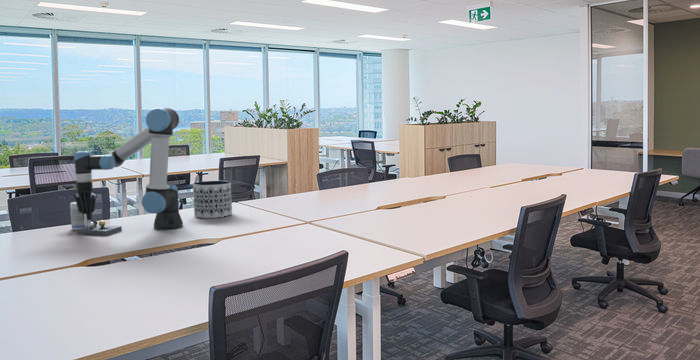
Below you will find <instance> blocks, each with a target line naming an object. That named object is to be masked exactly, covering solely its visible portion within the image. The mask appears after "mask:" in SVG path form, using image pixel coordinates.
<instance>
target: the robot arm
mask: <svg viewBox="0 0 700 360" xmlns="http://www.w3.org/2000/svg"><path fill="white" fill-rule="evenodd" d="M145 123H146V126H147V127H145V128H144V129H143V130H141V131H140V132H138V133H137V134H136V135H134V136H133V137H132V138H130V139H129V140H127V141H126V142H124V143H123V144H122V145H120V146H119V147H118V148H116V149H115V150H113V151H112V152H111V153H108V154H97V155H95V154H94V155H93V154H91V152H90V151H76V152H74V155H73V157H74V158H73V159H74V160H73V161H74V169H75V181H76V183H75V185H76V189H77V192H76V193H75V194H73V197H74V199H75V202H76V203H77V207H78V210H79V212H81V213H82V214H83V220H84V226H88V224H89V223H90V219H91V220H92V213H95V208H96V199H97V197H98V195H97V193H96V194H95V193H94V192H93V181H92V180H93V176H92V175H93V174H92V173H93V172H92V171H94V170H97V171H98V170H103V171H108V170H113V169H114V168H118V167H121V166H122V165H123V164H124V163H125V161H127V160H128V159H129V158H131V157H132V156H134V155H136V153H138V152H139V151H141V150H142V149H144V148H145V147H147V146H148V145H149V144H151V145H150V160H149V181H148V184H146V185H145V194H144V195H143V196H142V199H141V205H142V207H143V209H144V210H145V211H146V212H148V213H150V214H156V215H155V218H154V223H153V229H154V230H161V231H162V230H163V231H164V230H173V229H180V228H183V226H184V225H183V223H184V222H183V220H182V218H181V214H180V211H179V206H180V205H179V191H178V186H177V185H168V184H167V183H168V167H169V151H170V150H169V148H170V138H171V137H172V136H173V134H174V130H175V129H177V127H178V126H179V123H180V116H179V114H178V112H177V111H176V110H174V109H173V108H169V107H167V108H166V107H155V108H152V109H150V111H148V112H147V114H146V116H145Z"/></svg>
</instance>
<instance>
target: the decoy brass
mask: <svg viewBox="0 0 700 360" xmlns="http://www.w3.org/2000/svg"><path fill="white" fill-rule="evenodd" d="M98 225H99V226H101V227H103V226H106V222H105V221H104V220H100V221H99V222H98Z"/></svg>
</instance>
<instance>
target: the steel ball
mask: <svg viewBox="0 0 700 360" xmlns="http://www.w3.org/2000/svg"><path fill="white" fill-rule="evenodd" d="M94 226H95V224H94V223H93V222H92V221H91V222H90V223H89V224H88V227H89V228H94Z"/></svg>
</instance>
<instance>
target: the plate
mask: <svg viewBox="0 0 700 360" xmlns="http://www.w3.org/2000/svg"><path fill="white" fill-rule="evenodd" d="M122 228H123V227H122V226H119V225H105V226H103V227H101V226H99V224H97V225H96V226H94V228H89V227H84V228H81V229H77V230H75V232H76V235H79V234H83V236H85V235H86V236H102V237H103V236H104V237H106V236H110V235H114V234H115V233H116V234H117V233H119V232H122V230H123V229H122Z"/></svg>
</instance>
